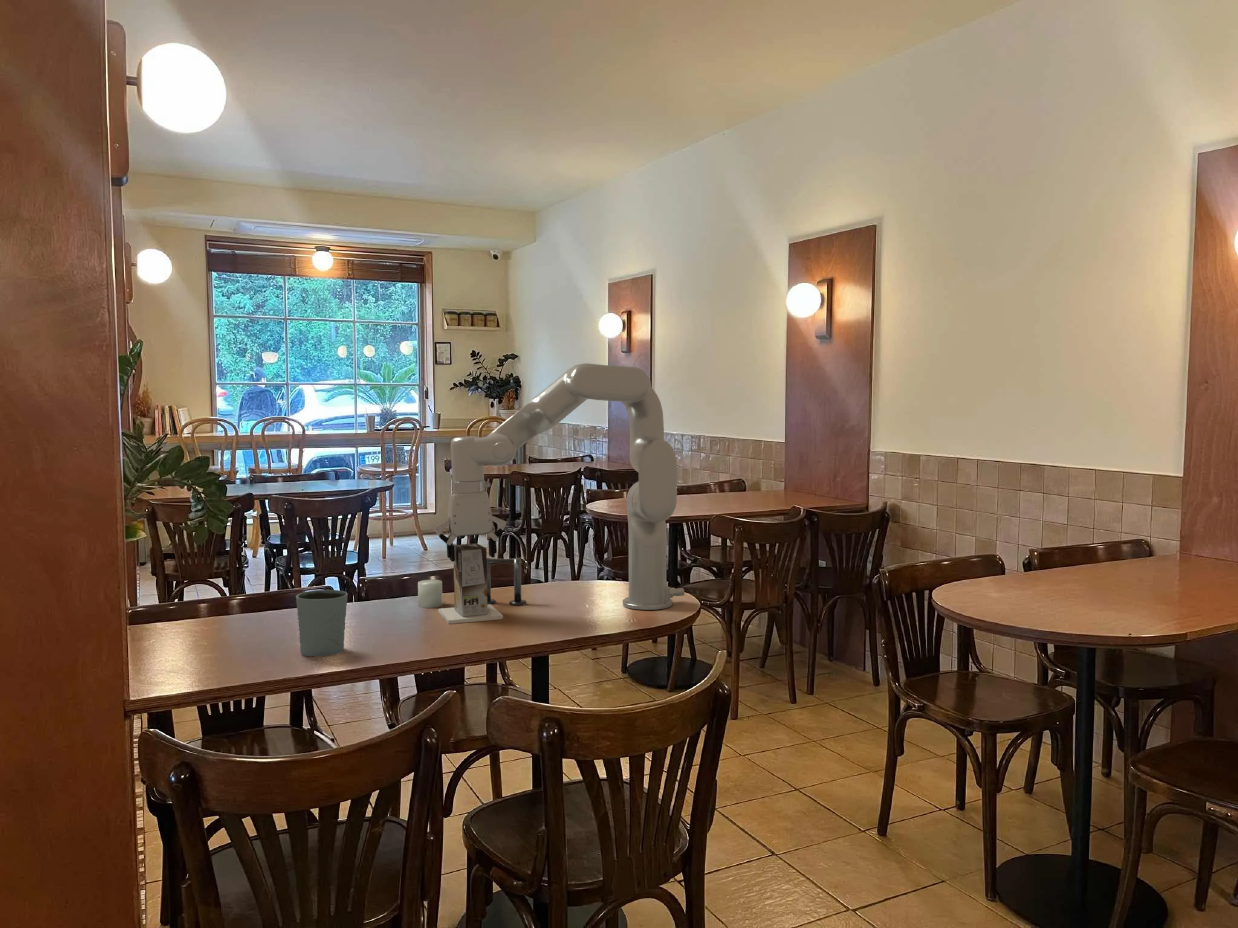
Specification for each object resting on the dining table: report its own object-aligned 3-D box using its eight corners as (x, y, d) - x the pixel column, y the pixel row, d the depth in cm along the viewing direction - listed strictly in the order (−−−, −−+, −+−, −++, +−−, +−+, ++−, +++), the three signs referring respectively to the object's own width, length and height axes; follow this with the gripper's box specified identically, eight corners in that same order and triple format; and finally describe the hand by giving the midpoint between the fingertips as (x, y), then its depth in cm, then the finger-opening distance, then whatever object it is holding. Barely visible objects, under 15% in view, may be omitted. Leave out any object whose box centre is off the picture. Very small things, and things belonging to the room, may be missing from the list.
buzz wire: (519, 598, 242) (519, 554, 241) (528, 604, 234) (528, 559, 233) (449, 604, 235) (449, 559, 235) (456, 611, 228) (455, 564, 227)
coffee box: (488, 614, 220) (487, 548, 219) (462, 617, 217) (461, 549, 216) (478, 606, 228) (477, 542, 227) (453, 609, 226) (452, 544, 225)
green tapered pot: (289, 651, 192) (287, 594, 191) (334, 642, 199) (332, 587, 198) (311, 660, 185) (310, 601, 184) (357, 650, 192) (356, 593, 191)
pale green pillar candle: (440, 601, 238) (439, 578, 238) (444, 606, 233) (443, 583, 232) (416, 603, 236) (416, 580, 236) (420, 608, 231) (419, 585, 230)
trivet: (490, 607, 231) (490, 604, 231) (502, 618, 219) (502, 615, 219) (438, 611, 227) (438, 608, 227) (448, 623, 215) (448, 620, 214)
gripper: (500, 484, 227) (503, 552, 229) (429, 489, 221) (433, 559, 223) (507, 486, 220) (511, 557, 222) (435, 492, 214) (439, 564, 216)
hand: (472, 558), depth 222 cm, fingers open, 9 cm apart
